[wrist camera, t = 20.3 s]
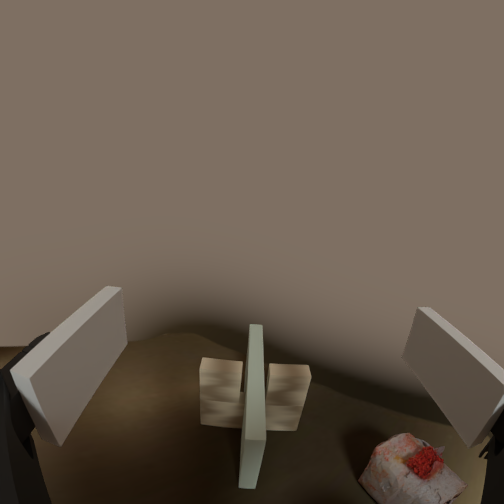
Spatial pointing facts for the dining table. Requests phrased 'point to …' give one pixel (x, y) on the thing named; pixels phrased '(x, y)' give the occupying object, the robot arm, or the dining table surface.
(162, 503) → the dining table surface
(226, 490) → the dining table surface
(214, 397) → the birch slotted plate
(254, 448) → the sage slotted plate
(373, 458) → the food item
